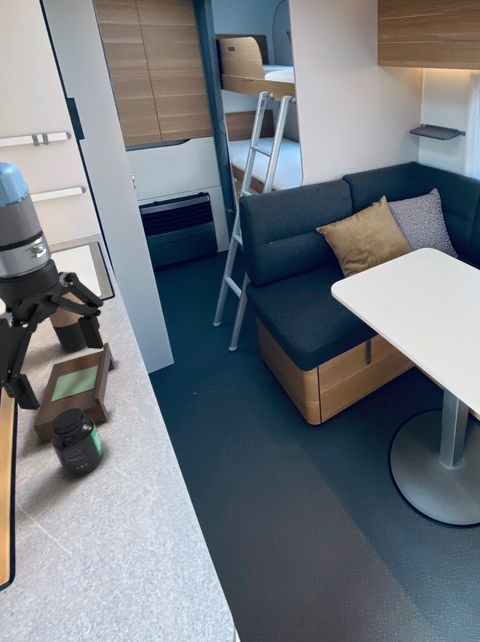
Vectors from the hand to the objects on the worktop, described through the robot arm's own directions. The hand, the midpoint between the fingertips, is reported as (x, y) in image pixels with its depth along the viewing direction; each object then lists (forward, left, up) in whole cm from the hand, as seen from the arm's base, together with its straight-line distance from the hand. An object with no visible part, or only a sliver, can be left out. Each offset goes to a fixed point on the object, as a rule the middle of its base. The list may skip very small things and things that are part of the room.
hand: (66, 375), depth 70 cm
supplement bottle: (-4, +5, -26) cm, 26 cm away
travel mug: (-11, +48, -26) cm, 56 cm away
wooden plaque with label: (-7, +24, -25) cm, 36 cm away
